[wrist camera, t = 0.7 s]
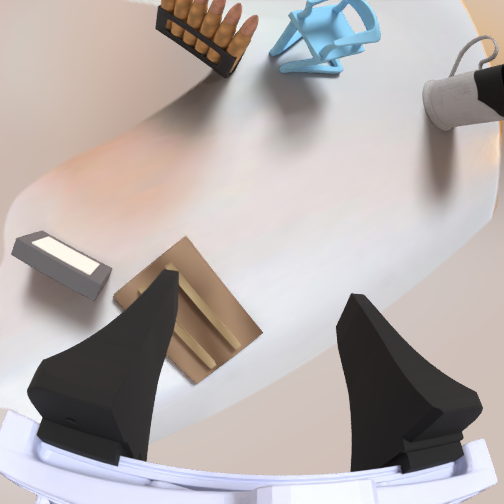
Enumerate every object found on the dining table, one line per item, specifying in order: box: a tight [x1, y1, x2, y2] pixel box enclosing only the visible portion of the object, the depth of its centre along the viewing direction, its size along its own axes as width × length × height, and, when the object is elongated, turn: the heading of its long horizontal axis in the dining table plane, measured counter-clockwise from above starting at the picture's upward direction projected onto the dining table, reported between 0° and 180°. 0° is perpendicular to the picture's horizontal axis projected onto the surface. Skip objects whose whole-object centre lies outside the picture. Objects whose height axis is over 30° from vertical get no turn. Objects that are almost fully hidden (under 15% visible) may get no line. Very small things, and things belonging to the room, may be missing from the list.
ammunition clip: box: [156, 0, 258, 78], centre depth 24 cm, size 11×2×12 cm, turn 52°
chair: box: [269, 0, 381, 74], centre depth 28 cm, size 8×8×12 cm
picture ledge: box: [113, 236, 263, 384], centre depth 33 cm, size 10×14×2 cm
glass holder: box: [423, 35, 504, 131], centre depth 33 cm, size 9×14×15 cm, turn 178°
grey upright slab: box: [11, 231, 112, 301], centre depth 27 cm, size 2×9×7 cm, turn 61°
